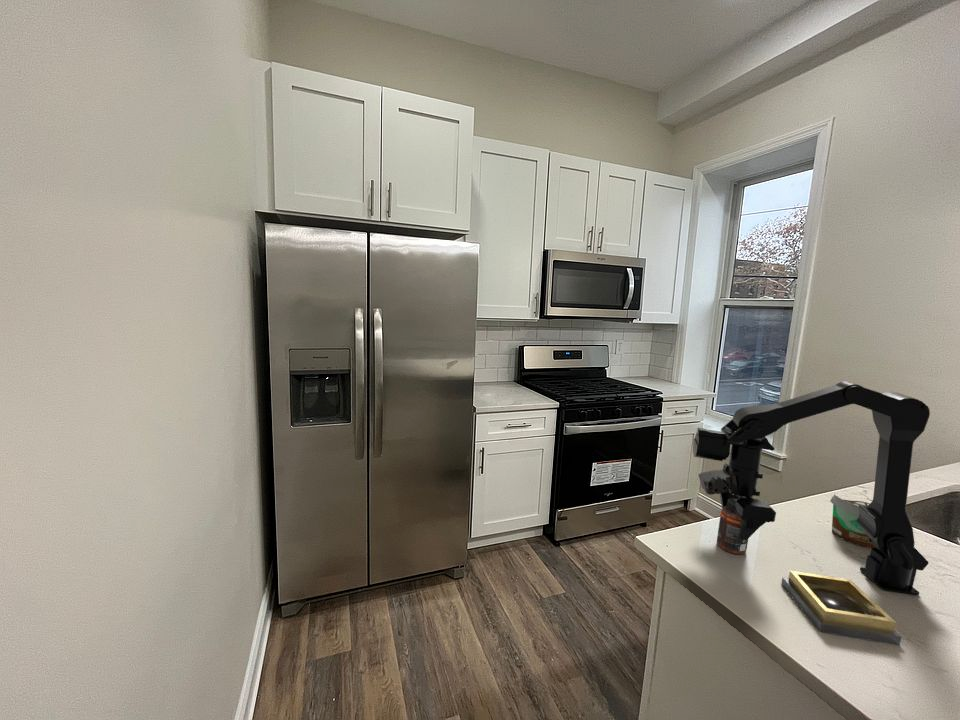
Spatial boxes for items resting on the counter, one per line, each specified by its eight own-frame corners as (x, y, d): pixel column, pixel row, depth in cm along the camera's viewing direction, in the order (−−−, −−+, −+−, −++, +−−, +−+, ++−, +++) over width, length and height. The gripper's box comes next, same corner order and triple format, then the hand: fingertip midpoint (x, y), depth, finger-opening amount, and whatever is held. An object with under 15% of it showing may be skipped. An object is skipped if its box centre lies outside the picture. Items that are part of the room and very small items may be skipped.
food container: (835, 543, 96) (842, 505, 94) (824, 530, 101) (831, 493, 100) (902, 557, 91) (911, 517, 90) (887, 542, 97) (895, 505, 95)
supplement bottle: (751, 557, 89) (758, 511, 87) (722, 553, 90) (729, 507, 88) (739, 542, 95) (746, 498, 93) (712, 538, 96) (718, 494, 94)
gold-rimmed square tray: (848, 593, 79) (851, 577, 78) (899, 645, 67) (904, 626, 66) (781, 583, 81) (784, 567, 80) (819, 631, 69) (823, 613, 68)
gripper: (691, 445, 100) (684, 503, 102) (722, 477, 81) (712, 547, 84) (740, 450, 98) (731, 509, 100) (782, 484, 79) (770, 555, 82)
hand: (734, 527), depth 91 cm, fingers open, 9 cm apart
